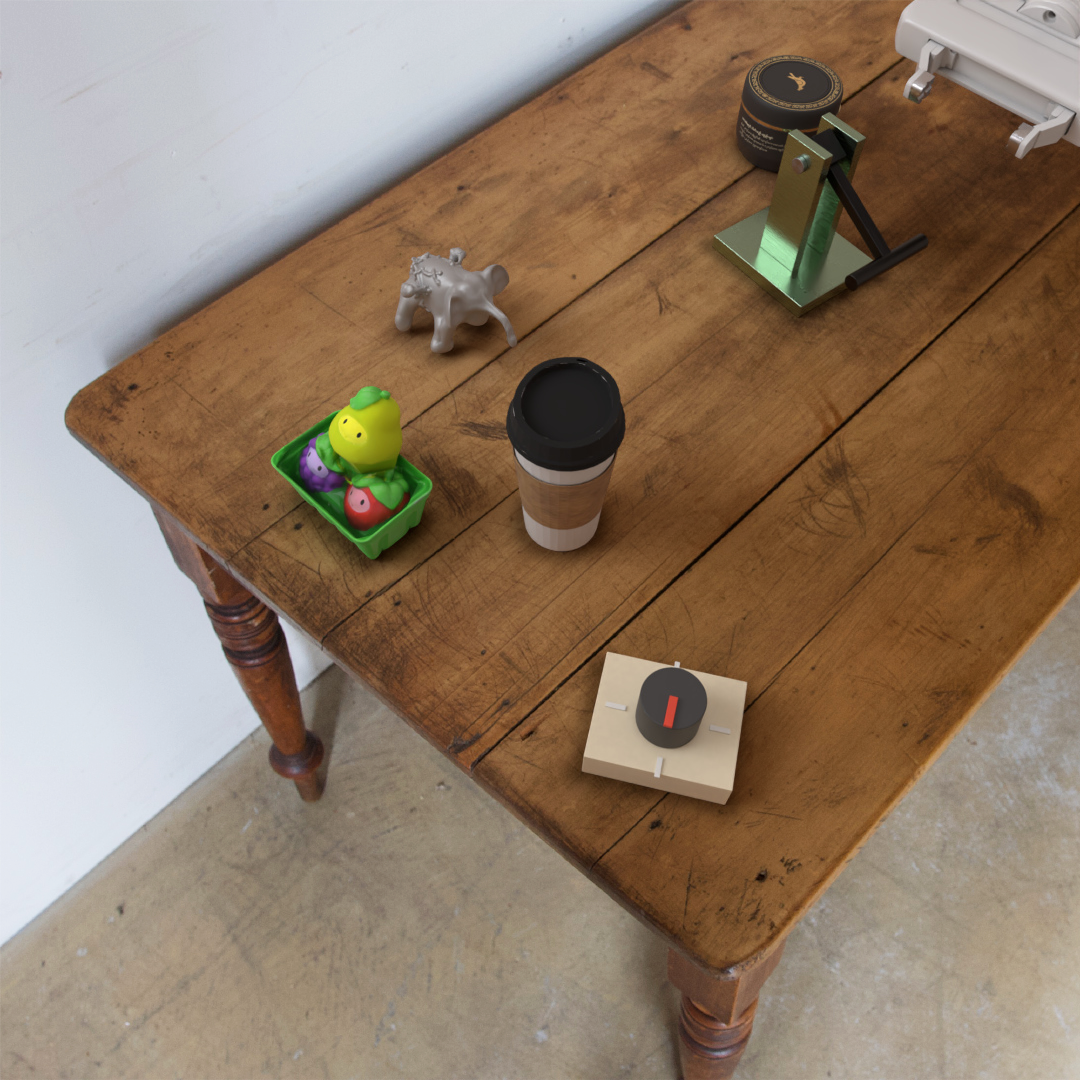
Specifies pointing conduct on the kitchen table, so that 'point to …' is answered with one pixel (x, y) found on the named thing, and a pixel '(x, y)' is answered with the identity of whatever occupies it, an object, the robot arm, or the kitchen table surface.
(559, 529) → the coffee cup
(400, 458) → the fruit basket
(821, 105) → the jar
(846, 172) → the green metal lever stand
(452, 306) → the gray elephant figurine
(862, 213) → the black lever handle
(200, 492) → the kitchen table surface
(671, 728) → the knob
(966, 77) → the robot arm
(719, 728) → the panel
